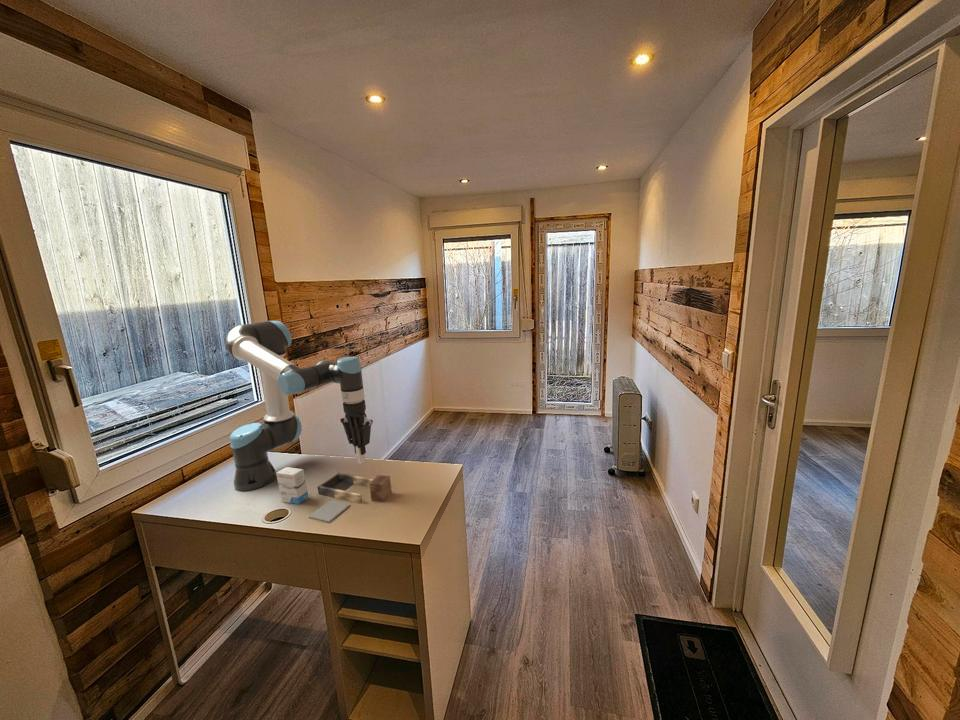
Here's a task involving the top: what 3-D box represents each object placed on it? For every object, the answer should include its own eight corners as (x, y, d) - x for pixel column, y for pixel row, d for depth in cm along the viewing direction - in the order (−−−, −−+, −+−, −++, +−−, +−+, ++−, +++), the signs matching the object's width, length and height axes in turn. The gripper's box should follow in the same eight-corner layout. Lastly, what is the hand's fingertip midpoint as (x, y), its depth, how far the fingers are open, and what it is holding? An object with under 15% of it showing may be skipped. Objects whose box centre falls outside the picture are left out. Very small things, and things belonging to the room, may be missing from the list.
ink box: (309, 497, 141) (304, 468, 138) (299, 504, 136) (293, 475, 134) (291, 494, 144) (286, 466, 141) (280, 501, 139) (275, 472, 137)
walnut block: (371, 501, 136) (369, 483, 134) (379, 492, 141) (377, 475, 140) (384, 502, 134) (382, 484, 133) (391, 493, 140) (389, 475, 139)
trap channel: (318, 494, 142) (317, 486, 142) (339, 479, 152) (338, 472, 152) (360, 503, 135) (359, 495, 134) (379, 487, 144) (378, 480, 144)
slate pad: (308, 517, 128) (308, 516, 128) (330, 501, 137) (330, 500, 137) (328, 523, 124) (328, 521, 124) (350, 506, 133) (349, 504, 133)
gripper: (331, 402, 132) (340, 464, 137) (361, 405, 127) (369, 469, 132) (346, 396, 138) (354, 454, 144) (375, 398, 133) (382, 459, 138)
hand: (361, 461), depth 138 cm, fingers closed
